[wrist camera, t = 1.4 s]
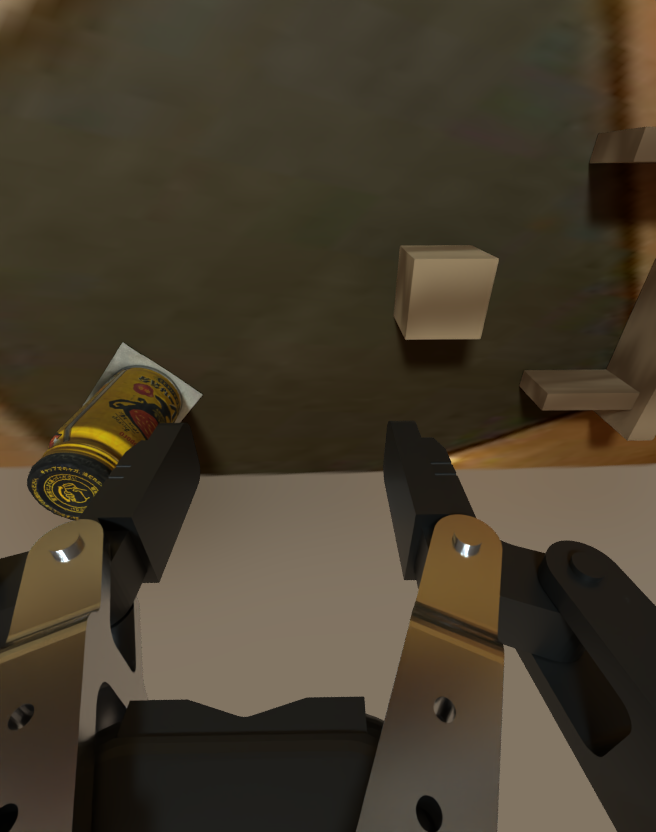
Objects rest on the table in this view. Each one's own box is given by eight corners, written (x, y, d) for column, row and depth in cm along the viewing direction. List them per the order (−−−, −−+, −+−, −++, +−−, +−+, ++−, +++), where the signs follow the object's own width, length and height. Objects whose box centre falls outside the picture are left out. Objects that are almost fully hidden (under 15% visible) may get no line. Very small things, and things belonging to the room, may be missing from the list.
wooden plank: (613, 84, 22) (683, 63, 17) (767, 84, 22) (874, 63, 17) (512, 407, 34) (539, 441, 29) (611, 406, 34) (652, 440, 29)
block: (400, 245, 26) (414, 259, 22) (470, 244, 26) (499, 258, 22) (393, 315, 29) (405, 339, 25) (457, 314, 29) (480, 339, 25)
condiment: (203, 393, 32) (150, 492, 22) (156, 451, 36) (92, 559, 26) (123, 341, 30) (22, 426, 20) (81, 408, 33) (-23, 511, 23)
